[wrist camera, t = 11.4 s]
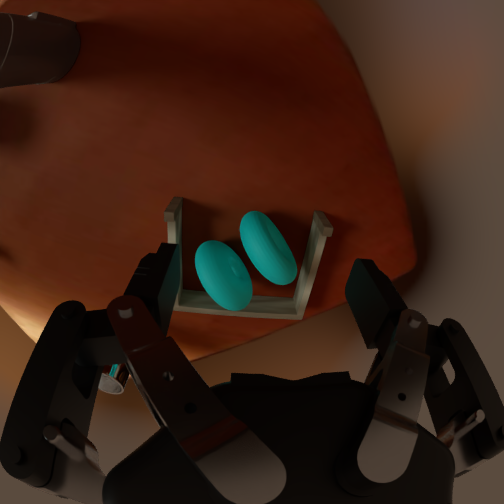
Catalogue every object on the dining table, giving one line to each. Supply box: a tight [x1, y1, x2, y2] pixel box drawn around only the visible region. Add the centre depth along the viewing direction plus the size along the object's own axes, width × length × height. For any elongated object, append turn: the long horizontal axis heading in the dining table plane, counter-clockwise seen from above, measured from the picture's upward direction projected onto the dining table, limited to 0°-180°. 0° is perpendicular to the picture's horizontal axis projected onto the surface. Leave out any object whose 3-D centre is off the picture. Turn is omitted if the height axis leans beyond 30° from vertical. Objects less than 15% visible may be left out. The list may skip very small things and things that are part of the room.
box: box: [164, 197, 333, 319], centre depth 38 cm, size 16×20×5 cm
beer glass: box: [98, 363, 130, 394], centre depth 40 cm, size 7×7×15 cm
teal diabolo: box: [195, 211, 297, 311], centre depth 35 cm, size 10×10×10 cm
